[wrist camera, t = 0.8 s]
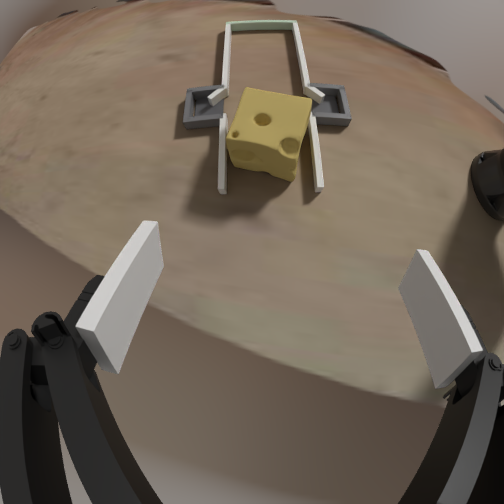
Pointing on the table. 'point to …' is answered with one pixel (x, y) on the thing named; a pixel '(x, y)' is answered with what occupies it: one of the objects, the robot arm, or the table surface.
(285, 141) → the cheese
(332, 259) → the table surface
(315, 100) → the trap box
